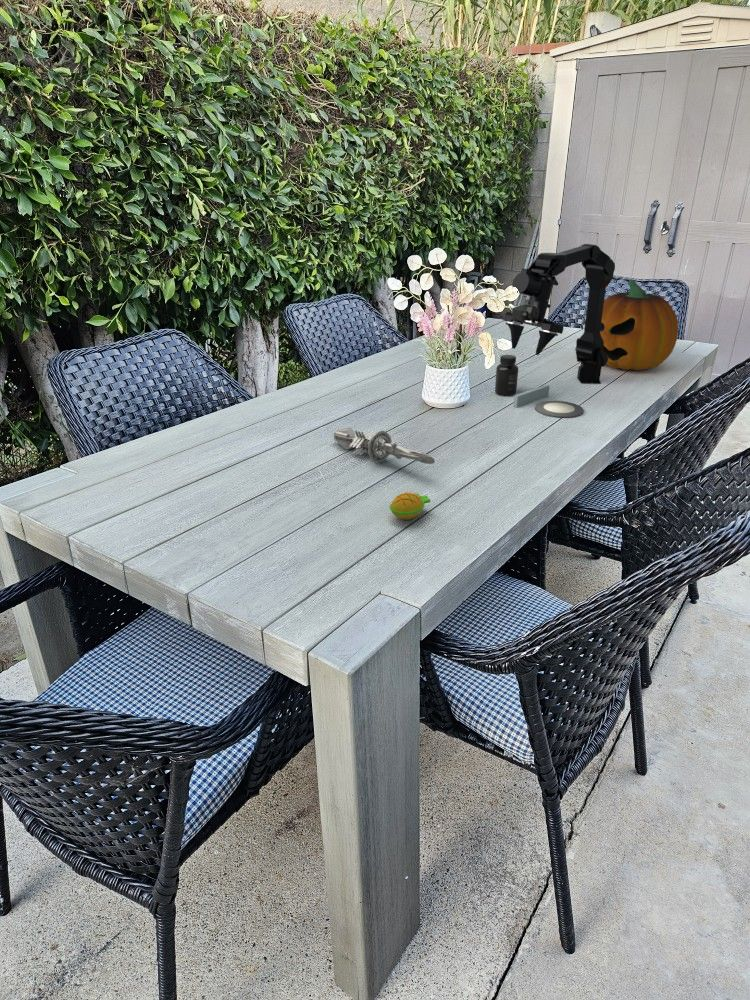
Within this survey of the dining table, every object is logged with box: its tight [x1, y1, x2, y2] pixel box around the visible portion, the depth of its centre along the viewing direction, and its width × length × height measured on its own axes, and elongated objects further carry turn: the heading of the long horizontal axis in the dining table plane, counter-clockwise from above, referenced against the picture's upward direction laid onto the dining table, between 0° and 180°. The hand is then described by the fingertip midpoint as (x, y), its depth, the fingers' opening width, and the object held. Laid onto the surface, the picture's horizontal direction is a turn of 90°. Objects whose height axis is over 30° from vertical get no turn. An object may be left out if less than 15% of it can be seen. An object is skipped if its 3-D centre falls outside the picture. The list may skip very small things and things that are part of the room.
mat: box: [534, 400, 584, 419], centre depth 204 cm, size 14×14×1 cm
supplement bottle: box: [494, 354, 519, 397], centre depth 215 cm, size 7×7×12 cm
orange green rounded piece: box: [389, 491, 431, 521], centre depth 143 cm, size 7×10×5 cm
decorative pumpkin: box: [600, 278, 679, 371], centre depth 241 cm, size 30×30×30 cm
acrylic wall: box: [513, 384, 550, 408], centre depth 210 cm, size 16×1×4 cm, turn 132°
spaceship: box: [332, 427, 435, 465], centre depth 167 cm, size 8×35×8 cm
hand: (525, 351), depth 204 cm, fingers open, 9 cm apart
